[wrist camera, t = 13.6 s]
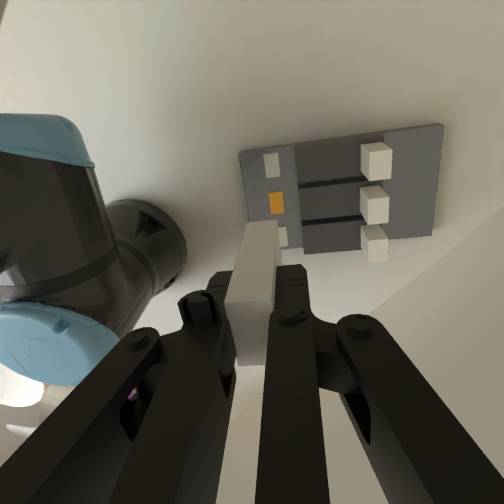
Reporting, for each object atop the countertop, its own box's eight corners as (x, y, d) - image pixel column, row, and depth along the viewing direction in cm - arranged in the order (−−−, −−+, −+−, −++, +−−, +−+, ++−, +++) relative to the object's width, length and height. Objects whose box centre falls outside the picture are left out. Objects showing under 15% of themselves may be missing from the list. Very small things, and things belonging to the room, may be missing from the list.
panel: (255, 246, 48) (254, 252, 47) (239, 151, 42) (238, 153, 41) (427, 231, 45) (432, 236, 43) (438, 123, 38) (444, 125, 37)
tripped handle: (359, 210, 40) (367, 224, 36) (359, 187, 39) (368, 199, 35) (378, 208, 40) (388, 222, 36) (378, 185, 39) (389, 197, 35)
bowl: (-25, 309, 60) (-66, 339, 53) (56, 311, 58) (24, 343, 51) (9, 371, 68) (-23, 404, 61) (81, 375, 66) (57, 409, 59)
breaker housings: (303, 247, 46) (305, 272, 40) (294, 144, 40) (295, 156, 34) (377, 241, 44) (390, 265, 39) (379, 132, 38) (396, 142, 32)
